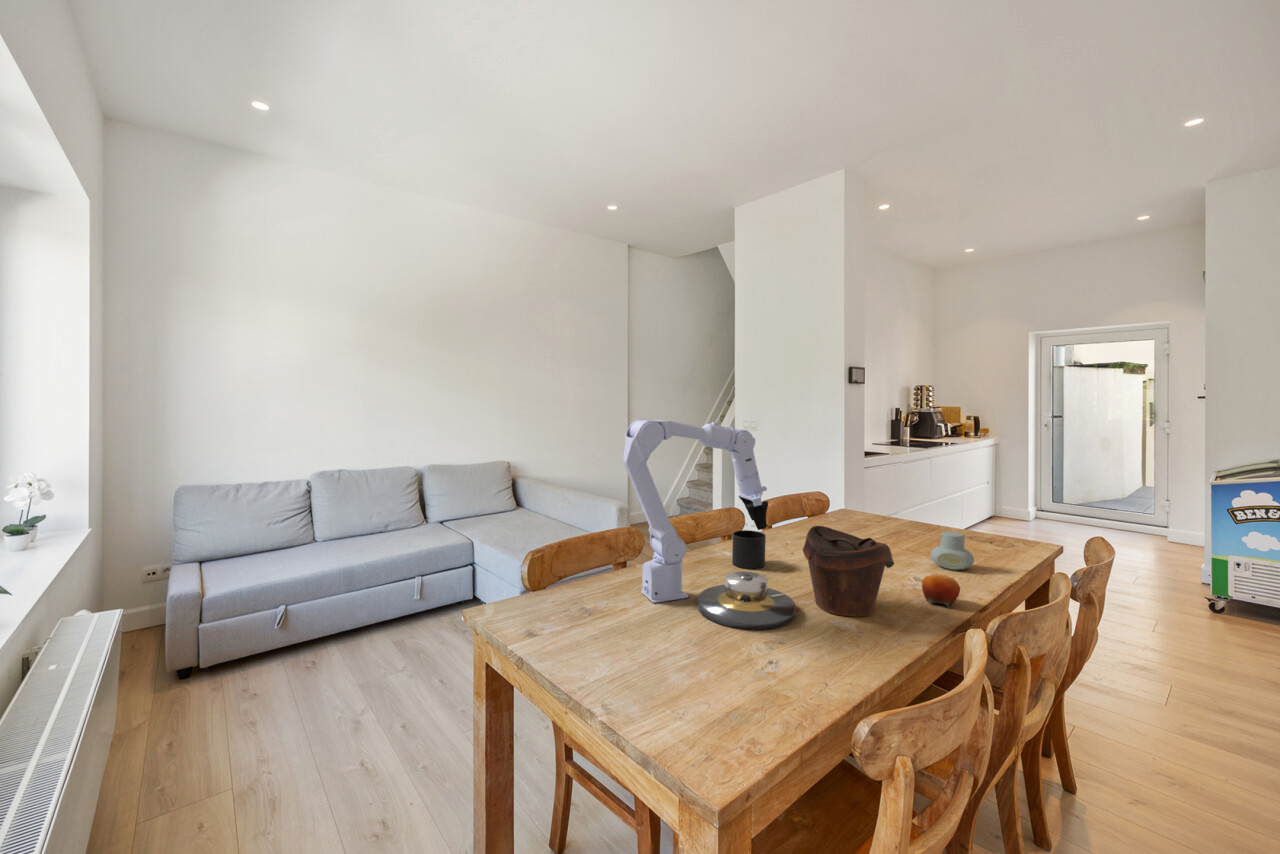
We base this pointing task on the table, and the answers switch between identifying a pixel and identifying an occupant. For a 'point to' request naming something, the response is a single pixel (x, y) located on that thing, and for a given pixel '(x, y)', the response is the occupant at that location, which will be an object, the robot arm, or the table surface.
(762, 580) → the cover
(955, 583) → the fruit
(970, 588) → the table surface
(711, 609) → the turntable
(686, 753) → the table surface
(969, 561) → the air freshener
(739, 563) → the black cylindrical cup
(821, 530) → the case
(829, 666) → the table surface
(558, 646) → the table surface
